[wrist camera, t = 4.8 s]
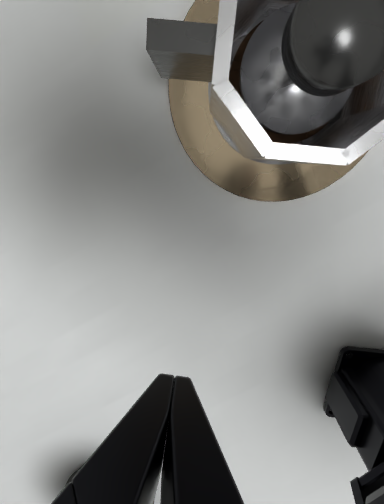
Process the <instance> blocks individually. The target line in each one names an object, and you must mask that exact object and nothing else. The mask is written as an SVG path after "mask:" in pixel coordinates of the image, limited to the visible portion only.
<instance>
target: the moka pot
mask: <svg viewBox="0 0 384 504" xmlns="http://www.w3.org/2000/svg"><path fill="white" fill-rule="evenodd" d="M298 1H299V0H196V1H195V2H194V4H193V5H192V7H191V8H190V10H189V11H188V13H187V16H186V18H185V20H184V21H177V20H165V19H154V18H147V45H146V50H147V52H148V54H149V55H150V57H151V59H152V61H153V63H154V65H155V67H156V69H157V70H158V72H159V74H160V76H161V78H169V99H170V108H171V113H172V117H173V122H174V126H175V128H176V131H177V134H178V136H179V139H180V141H181V143H182V145H183V147H184V149H185V151H186V152H187V154H188V155H189V157H190V158H191V160H192V161H193V163H194V164H195V165H196V166H197V167H198V168H199V169H200V171H201V172H202V173H203V174H204V175H205V176H207V177H208V178H209V179H210V180H211V181H213V182H214V183H215V184H217V185H218V186H220V187H222V188H223V189H225V190H227V191H229V192H231V193H233V194H235V195H238V196H241V197H244V198H248V199H252V200H258V201H273V202H277V201H287V200H292V199H297V198H301V197H304V196H307V195H310V194H313V193H315V192H318V191H319V190H321V189H323V188H325V187H327V186H329V185H331V184H332V183H334V182H335V181H337V180H338V179H340V178H341V177H343V176H344V175H345V174H346V173H347V172H349V171H350V170H351V169H352V168H353V167H354V166H355V165H356V164H357V163H358V162H359V161H360V160H361V159H362V158H363V157H364V156H365V154H366V153H367V152H368V150H369V149H370V148H372V147H373V146H374V145H376V144H377V143H378V142H380V141H381V140H382V139H384V70H383V71H382V72H380V73H379V74H378V75H376V76H375V77H373V78H371V79H369V80H368V81H365V82H363V83H361V84H359V85H357V86H355V87H353V90H352V92H351V94H350V96H349V98H348V100H347V101H346V103H345V104H344V106H343V107H342V108H341V109H340V111H339V112H338V113H337V114H336V115H335V116H334V117H333V118H332V119H331V120H329V121H328V122H326V123H325V124H324V125H322V126H320V127H318V128H316V129H314V130H311V131H308V132H305V133H301V134H294V135H285V134H278V133H275V132H272V131H270V130H268V129H266V128H264V127H263V126H261V125H260V124H259V122H258V121H257V119H256V118H255V117H254V115H253V114H252V112H251V111H250V110H249V108H248V107H247V105H246V104H245V103H244V101H243V98H242V95H241V90H240V67H241V62H242V58H243V55H244V52H245V49H246V47H247V44H248V42H249V40H250V38H251V37H252V35H253V33H254V32H255V30H256V29H257V28H258V26H259V25H260V24H261V23H262V22H263V21H264V20H265V19H266V18H267V17H268V16H269V15H270V14H272V13H273V12H275V11H276V10H278V9H279V8H281V7H284V6H286V5H288V4H291V3H295V2H298Z"/></svg>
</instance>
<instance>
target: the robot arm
mask: <svg viewBox="0 0 384 504" xmlns="http://www.w3.org/2000/svg"><path fill="white" fill-rule="evenodd" d="M348 353H350V354H349V355H347V354H348ZM173 385H174V386H173ZM324 411H325V413H326V415H327V416H329V417H335V418H336V420H337V422H338V424H339V426H340V428H341V430H342V432H343V434H344V436H345V438H346V440H347V442H348V443H349V444H350V446H351V447H356V448H357V450H358V452H359V454H360V456H361V458H362V459H363V461H364V463H365V465H366V467H367V469H368V472H367V473H366V474H364V475H363V476H361V477H360V478H358V477H356V478H355V479H353V480H352V481H351V482H350V483H351V487H352V491H353V495H354V499H355V503H356V504H384V350H377V349H367V348H357V347H344V348H343V349H342V350H341V351H340V355H339V358H338V361H337V365H336V368H335V371H334V373H333V374H332V377H331V381H330V384H329V387H328V391H327V394H326V402H325V405H324ZM166 435H167V436H166ZM165 442H166V443H165ZM164 449H165V450H164ZM163 456H164V457H163ZM162 462H163V466H162ZM161 468H162V478H161V503H160V504H244V502H243V500H242V498H241V495H240V493H239V491H238V488H237V486H236V484H235V481H234V479H233V477H232V474H231V472H230V470H229V467H228V465H227V463H226V460H225V458H224V456H223V453H222V451H221V449H220V446H219V444H218V442H217V439H216V437H215V435H214V432H213V430H212V428H211V425H210V423H209V421H208V418H207V416H206V413H205V411H204V409H203V406H202V404H201V402H200V399H199V397H198V395H197V392H196V390H195V388H194V385H193V383H192V381H191V379H190V378H189V377H183V376H176V377H175V379H174V376H173V375H169V374H159V375H158V376H157V377H156V378H155V380H154V381H153V382H152V383H151V384H150V386H149V387H148V388H147V389H146V391H145V392H144V393H143V394H142V395H141V397H140V398H139V399H138V400H137V401H136V403H135V404H134V405H133V406H132V407H131V409H130V410H129V411H128V412H127V413H126V415H125V416H124V417H123V418H122V419H121V421H120V422H119V423H118V424H117V425H116V427H115V428H114V429H113V430H112V431H111V433H110V434H109V435H108V436H107V437H106V439H105V440H104V441H103V442H102V443H101V445H100V446H99V447H98V448H97V450H96V451H95V452H94V453H93V454H92V456H91V457H90V458H89V459H88V460H87V462H86V463H85V464H84V465H83V466H82V468H81V469H80V470H79V471H78V472H77V474H76V475H75V476H74V477H73V478H72V483H71V482H69V483H68V484H67V485H66V487H65V488H64V489H63V490H62V491H61V493H60V494H59V495H58V496H57V497H56V499H55V500H54V501H53V502H52V503H51V504H153V502H154V498H155V494H156V490H157V486H158V482H159V478H160V473H161Z"/></svg>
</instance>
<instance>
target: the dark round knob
mask: <svg viewBox="0 0 384 504" xmlns="http://www.w3.org/2000/svg"><path fill="white" fill-rule="evenodd" d="M383 70H384V0H299V1H298V2H295V3H291V4H288V5H286V6H284V7H281V8H279V9H278V10H276V11H275V12H273V13H272V14H270V15H269V16H268V17H267V18H266V19H265V20H264V21H263V22H262V23H261V24H260V25H259V26H258V28H257V29H256V30H255V32H254V33H253V35H252V37H251V38H250V40H249V42H248V44H247V47H246V49H245V52H244V55H243V58H242V62H241V67H240V90H241V95H242V98H243V101H244V103H245V104H246V105H247V107H248V108H249V110H250V111H251V112H252V114H253V115H254V117H255V118H256V119H257V121H258V122H259V124H260V125H261V126H263V127H264V128H266V129H268V130H270V131H272V132H275V133H278V134H285V135H294V134H301V133H305V132H308V131H311V130H314V129H316V128H318V127H320V126H322V125H324V124H325V123H326V122H328V121H329V120H331V119H332V118H333V117H334V116H335V115H336V114H337V113H338V112H339V111H340V109H341V108H342V107H343V106H344V104H345V103H346V101H347V100H348V98H349V96H350V94H351V92H352V90H353V87H355V86H357V85H359V84H361V83H363V82H365V81H368V80H369V79H371V78H373V77H375V76H376V75H378V74H379V73H380V72H382V71H383Z"/></svg>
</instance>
